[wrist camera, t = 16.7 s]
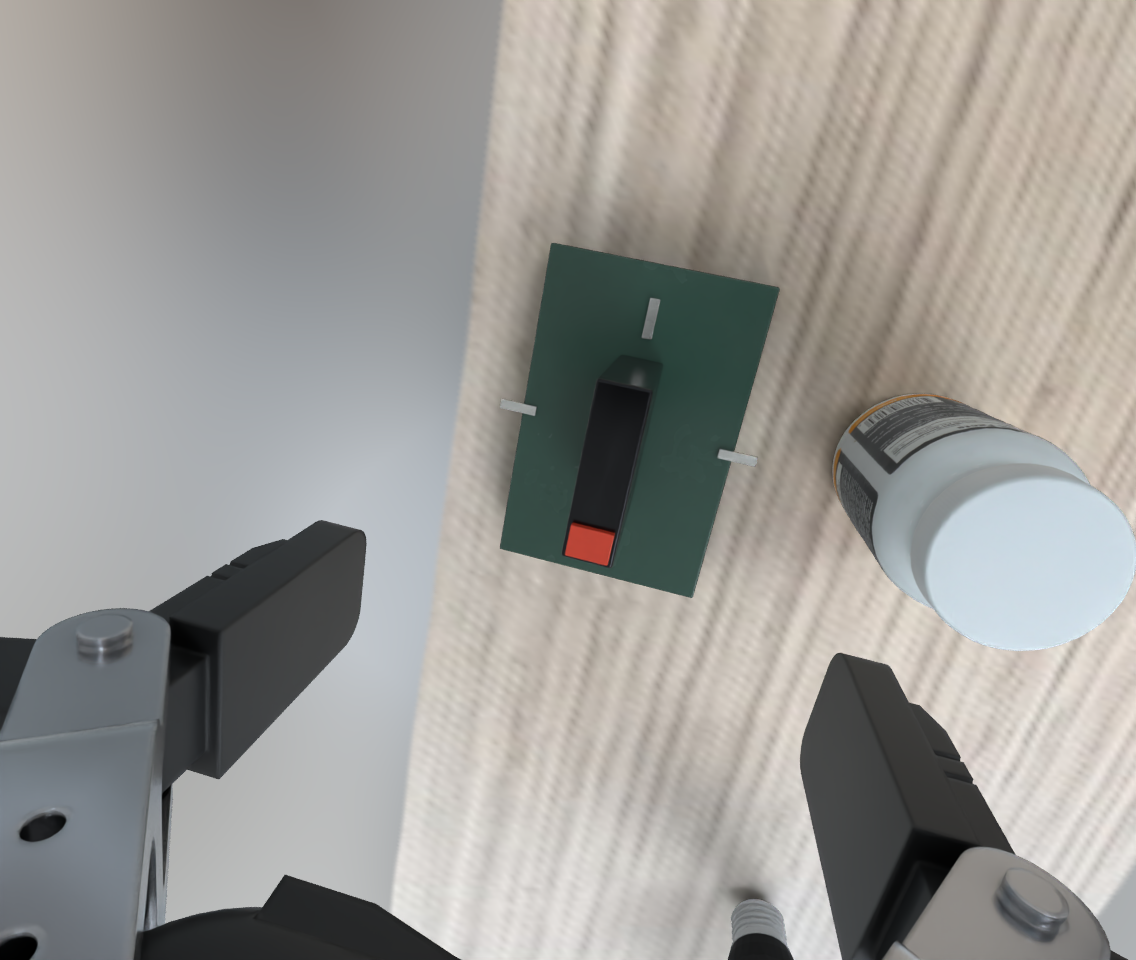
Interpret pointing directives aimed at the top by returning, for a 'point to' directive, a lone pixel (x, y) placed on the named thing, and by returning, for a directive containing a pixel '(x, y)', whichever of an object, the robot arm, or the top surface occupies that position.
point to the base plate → (680, 416)
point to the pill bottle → (983, 522)
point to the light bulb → (758, 932)
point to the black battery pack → (611, 459)
